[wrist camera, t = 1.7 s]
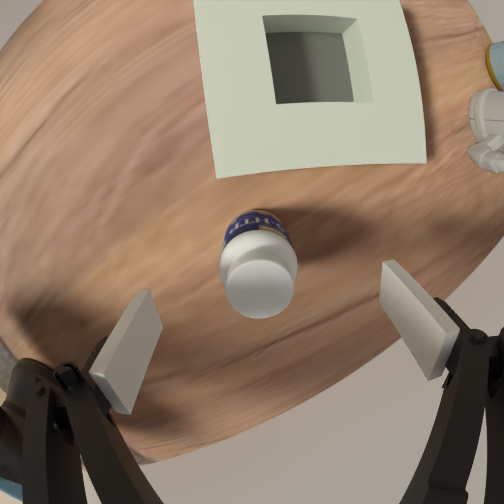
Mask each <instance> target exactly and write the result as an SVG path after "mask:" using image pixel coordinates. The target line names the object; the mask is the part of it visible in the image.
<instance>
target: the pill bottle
mask: <svg viewBox="0 0 504 504" xmlns="http://www.w3.org/2000/svg"><path fill="white" fill-rule="evenodd" d="M297 272H298V262H297V257H296V254H295V251H294V249H293V246H292V244H291V242H290V239H289V237H288V234H287V232H286V229H285V227H284V225H283V224H282V222H281V221H280V220H279V219H278V218H277V217H276V216H275V215H273V214H271V213H269V212H266V211H262V210H250V211H246V212H243V213H241V214H240V215H238V216H237V217H235V218H234V219H233V220H232V222H231V223H230V224H229V226H228V228H227V231H226V234H225V238H224V243H223V247H222V251H221V256H220V261H219V273H220V278H221V280H222V283H223V285H224V286H225V288H226V296H227V299H228V301H229V303H230V305H231V306H232V307H233V308H234V309H235V310H236V311H237V312H239V313H240V314H242V315H244V316H247V317H250V318H257V319H262V318H269V317H272V316H274V315H277V314H279V313H280V312H282V311H283V310H284V309H285V308H286V307H287V306H288V305H289V303H290V302H291V300H292V298H293V295H294V282H295V279H296V276H297Z"/></svg>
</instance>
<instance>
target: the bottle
mask: <svg viewBox="0 0 504 504" xmlns="http://www.w3.org/2000/svg"><path fill="white" fill-rule="evenodd" d="M485 56H486V65H487V69H488V71H489V74H490V76H491V78H492V80H493V82H494V84H495V85H496V86H497V88H498V89H499V90H500V91H504V41H502V42H498V43H493V44H490V45H489V46H488V47H487V50H486V55H485Z"/></svg>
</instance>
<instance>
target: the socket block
mask: <svg viewBox="0 0 504 504" xmlns="http://www.w3.org/2000/svg"><path fill="white" fill-rule="evenodd" d="M193 1H194V11H195V20H196V29H197V38H198V46H199V55H200V63H201V71H202V79H203V86H204V94H205V101H206V109H207V116H208V123H209V130H210V137H211V144H212V151H213V157H214V164H215V171H216V177H217V179H218V178H225V177H232V176H239V175H246V174H254V173H262V172H271V171H280V170H290V169H300V168H312V167H325V166H340V165H359V164H390V163H426V139H425V125H424V114H423V105H422V97H421V90H420V84H419V78H418V72H417V67H416V61H415V57H414V52H413V48H412V43H411V39H410V35H409V31H408V28H407V24H406V21H405V17H404V14H403V11H402V8H401V4H400V1H399V0H193Z"/></svg>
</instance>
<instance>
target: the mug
mask: <svg viewBox="0 0 504 504" xmlns="http://www.w3.org/2000/svg"><path fill="white" fill-rule="evenodd" d="M469 118H471V119H470V120H469V121H470V125H471V129H472V132H473V135H474V137H475V139H476V140H477V142H478V143H477V144H475V145H472V146H471V147H469V148H468V149H467V153H468V155H469V157H470V158H471V159H472V160H473V162H474V164H475V165H477V166H478V167H480V168H484V169H487V170H488V171H492V172H494V173H498V174H500V173H501V172H504V91H499V90H497V89H495V88H493V87H491V88H485V89H483V90H481V91H478V92H476V93H475V94H474V95H473V96H472V98H471V102H470V107H469Z"/></svg>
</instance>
